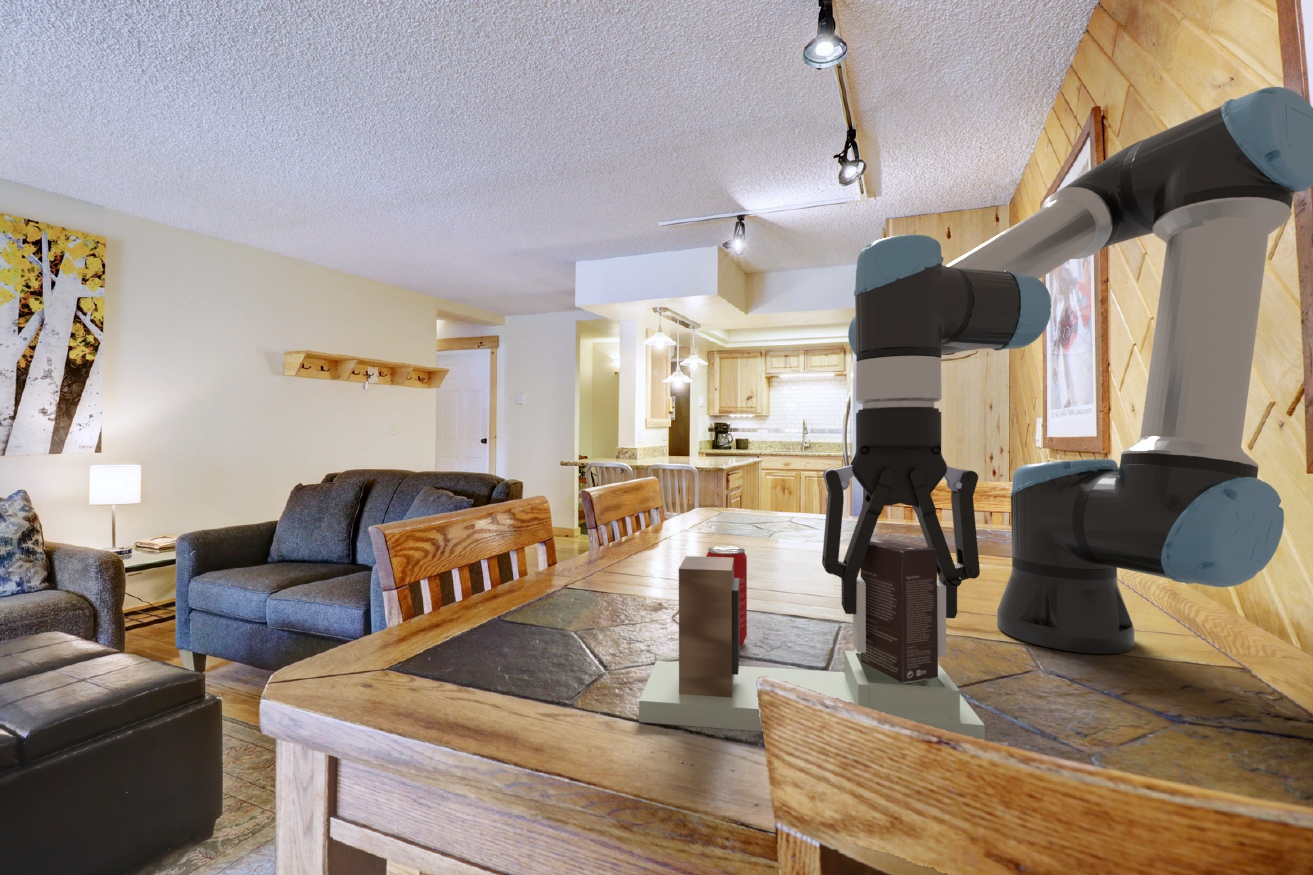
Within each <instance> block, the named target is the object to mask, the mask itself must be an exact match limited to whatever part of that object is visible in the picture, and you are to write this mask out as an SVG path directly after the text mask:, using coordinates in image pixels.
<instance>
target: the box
mask: <svg viewBox="0 0 1313 875" xmlns="http://www.w3.org/2000/svg"><path fill="white" fill-rule="evenodd" d="M860 577H861V578H862V579H863V580H864V582H865V583H866V653H861V662H862V663H864V664H866V665H868V666H870V667H872V668H874V669H876V670H878V671H880V672H882V673H884V674H886V675H888V676H890V677H892V678H894V679H896V680H898V681H899V682H901V683H903V684H911V683H916V682H921V681H926V680H929V679H933V678H936V677H938V664H939V657H938V625H937V624H938V619H937V579H938V574H937V549H936V548H932V547H928V546H925V545H920V544H916V543H915V544H914V543H911V542H906V541H901V540H897V539H875V540H874V539H873V540H870V543H869V546H868V548H867V551H866V554H865V557H864V560H863V563H862V565H861V568H860Z"/></svg>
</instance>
